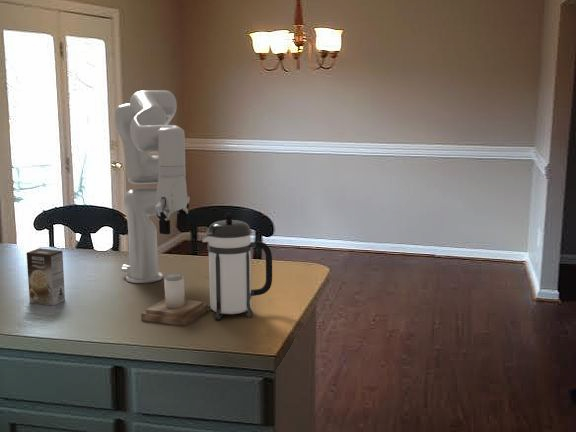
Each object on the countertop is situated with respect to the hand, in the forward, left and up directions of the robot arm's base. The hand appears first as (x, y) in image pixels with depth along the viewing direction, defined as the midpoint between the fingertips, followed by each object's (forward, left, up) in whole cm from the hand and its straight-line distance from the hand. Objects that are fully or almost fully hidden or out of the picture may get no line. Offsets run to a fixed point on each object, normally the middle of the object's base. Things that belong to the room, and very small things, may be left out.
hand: (173, 230), depth 200 cm
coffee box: (-43, -4, -25) cm, 50 cm away
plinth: (+1, -2, -25) cm, 25 cm away
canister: (+1, -2, -22) cm, 22 cm away
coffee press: (+16, +6, -25) cm, 30 cm away
